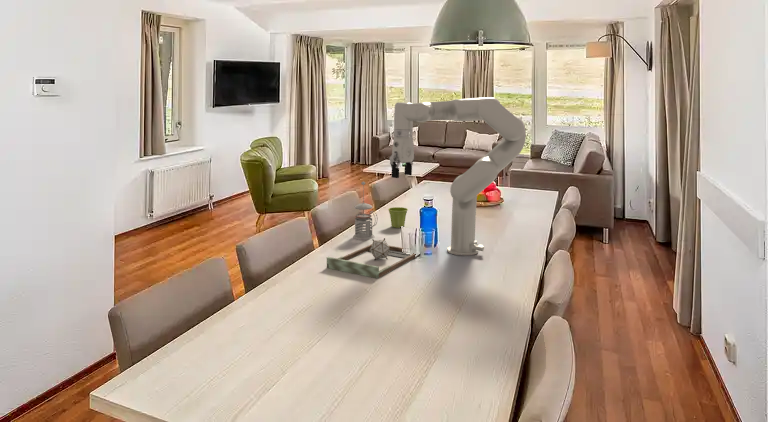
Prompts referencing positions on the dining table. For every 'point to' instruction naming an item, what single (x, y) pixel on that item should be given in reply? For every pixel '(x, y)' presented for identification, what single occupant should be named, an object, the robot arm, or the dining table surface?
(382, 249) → the game die
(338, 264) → the shallow open box
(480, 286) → the dining table surface
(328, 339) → the dining table surface
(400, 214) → the plant pot
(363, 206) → the french press
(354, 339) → the dining table surface
